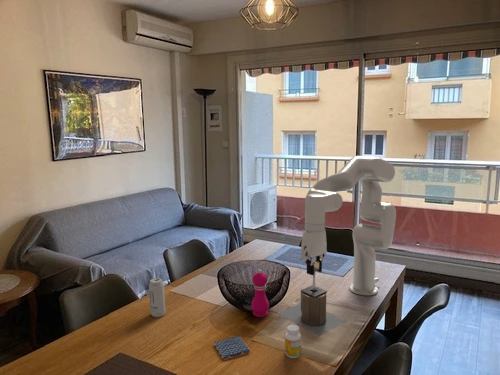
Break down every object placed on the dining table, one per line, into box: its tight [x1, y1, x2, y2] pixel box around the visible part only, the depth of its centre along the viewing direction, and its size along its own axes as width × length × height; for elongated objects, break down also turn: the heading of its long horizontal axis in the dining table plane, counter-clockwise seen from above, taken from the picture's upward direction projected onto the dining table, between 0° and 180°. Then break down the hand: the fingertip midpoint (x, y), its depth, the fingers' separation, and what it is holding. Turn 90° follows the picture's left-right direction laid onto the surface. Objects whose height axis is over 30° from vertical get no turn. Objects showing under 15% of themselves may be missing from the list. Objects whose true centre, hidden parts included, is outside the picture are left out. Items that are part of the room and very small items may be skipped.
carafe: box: [300, 284, 328, 326], centre depth 152 cm, size 10×11×12 cm
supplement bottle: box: [284, 324, 302, 359], centre depth 132 cm, size 5×5×10 cm
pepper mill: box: [250, 268, 270, 318], centre depth 157 cm, size 7×7×20 cm
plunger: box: [312, 259, 319, 292], centre depth 150 cm, size 7×7×20 cm
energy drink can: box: [148, 277, 166, 318], centre depth 160 cm, size 6×6×15 cm
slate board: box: [277, 302, 347, 336], centre depth 155 cm, size 16×22×1 cm
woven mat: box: [213, 335, 251, 361], centre depth 136 cm, size 10×11×2 cm
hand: (314, 272), depth 149 cm, fingers closed on plunger, 3 cm apart
